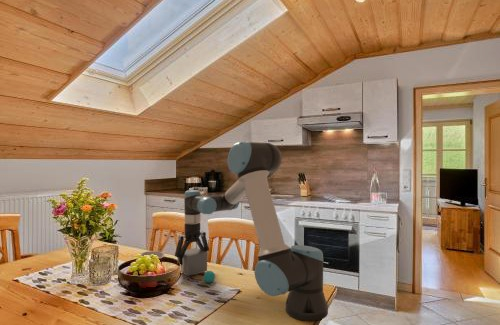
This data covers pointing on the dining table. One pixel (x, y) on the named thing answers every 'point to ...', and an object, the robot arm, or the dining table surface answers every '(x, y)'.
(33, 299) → the dining table surface
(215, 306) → the dining table surface
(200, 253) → the matte grey cube
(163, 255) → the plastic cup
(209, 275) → the ball
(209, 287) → the dining table surface
